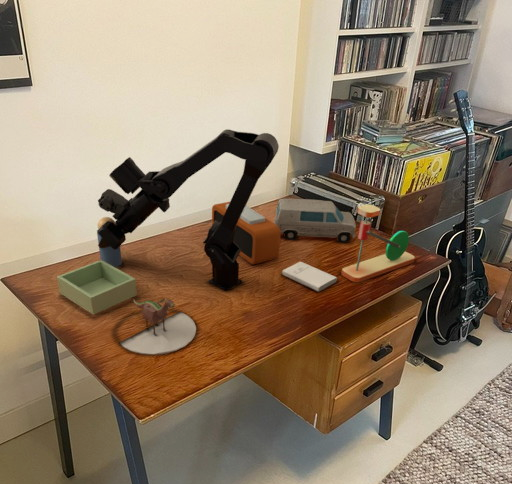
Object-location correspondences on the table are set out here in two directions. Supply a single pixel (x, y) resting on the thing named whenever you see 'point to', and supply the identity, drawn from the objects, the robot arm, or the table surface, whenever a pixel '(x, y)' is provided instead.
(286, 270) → the hard drive
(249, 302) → the table surface
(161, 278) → the table surface
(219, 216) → the alarm clock
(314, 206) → the toy car
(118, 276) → the green square tray
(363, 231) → the crank mechanism
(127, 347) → the dinosaur
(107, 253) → the peg doll
